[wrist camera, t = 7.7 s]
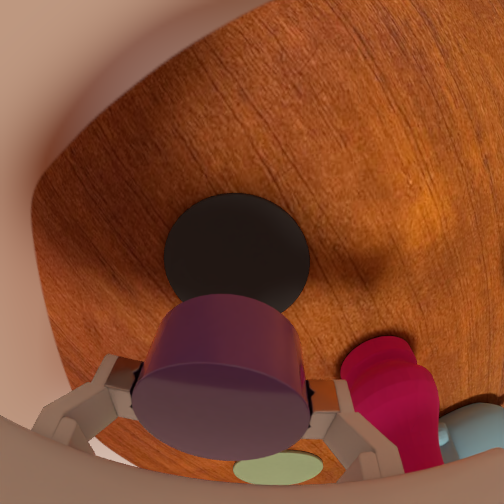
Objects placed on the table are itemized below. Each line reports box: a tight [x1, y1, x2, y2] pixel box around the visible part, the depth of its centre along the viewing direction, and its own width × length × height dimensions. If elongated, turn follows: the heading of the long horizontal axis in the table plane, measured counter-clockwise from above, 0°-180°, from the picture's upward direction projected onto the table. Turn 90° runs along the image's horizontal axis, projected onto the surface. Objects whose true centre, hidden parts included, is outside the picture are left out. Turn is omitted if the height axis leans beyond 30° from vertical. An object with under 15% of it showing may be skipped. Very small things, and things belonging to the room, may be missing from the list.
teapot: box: [438, 403, 504, 464], centre depth 24 cm, size 19×19×14 cm
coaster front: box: [164, 193, 310, 313], centre depth 19 cm, size 9×9×1 cm
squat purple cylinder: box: [131, 294, 310, 461], centre depth 11 cm, size 6×6×4 cm
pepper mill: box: [340, 336, 444, 473], centre depth 14 cm, size 7×7×20 cm
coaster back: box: [233, 450, 323, 485], centre depth 31 cm, size 11×11×1 cm
